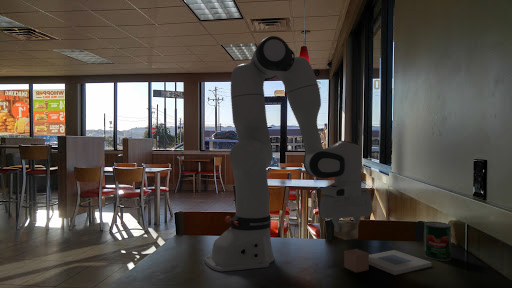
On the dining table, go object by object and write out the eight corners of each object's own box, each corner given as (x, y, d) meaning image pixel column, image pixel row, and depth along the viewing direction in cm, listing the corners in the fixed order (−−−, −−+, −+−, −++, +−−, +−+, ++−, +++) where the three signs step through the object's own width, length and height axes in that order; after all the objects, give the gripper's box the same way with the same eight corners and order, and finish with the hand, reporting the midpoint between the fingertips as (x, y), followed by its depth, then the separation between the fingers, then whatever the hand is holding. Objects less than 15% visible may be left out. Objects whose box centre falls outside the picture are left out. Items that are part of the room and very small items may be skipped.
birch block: (345, 239, 110) (345, 224, 110) (333, 235, 115) (334, 220, 115) (357, 238, 112) (358, 223, 112) (346, 234, 117) (346, 219, 117)
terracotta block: (355, 272, 99) (355, 255, 99) (344, 267, 103) (344, 250, 103) (368, 270, 101) (368, 253, 101) (356, 264, 105) (356, 248, 105)
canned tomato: (443, 253, 117) (442, 221, 117) (456, 261, 109) (456, 226, 109) (419, 253, 117) (419, 221, 117) (431, 260, 109) (431, 226, 109)
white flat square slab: (394, 275, 97) (394, 270, 97) (359, 260, 109) (359, 256, 109) (431, 266, 104) (431, 262, 104) (394, 253, 116) (394, 249, 116)
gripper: (363, 187, 121) (362, 226, 121) (317, 188, 112) (316, 230, 112) (377, 189, 116) (375, 230, 116) (329, 191, 106) (328, 235, 106)
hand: (346, 230), depth 114 cm, fingers closed on birch block, 5 cm apart
